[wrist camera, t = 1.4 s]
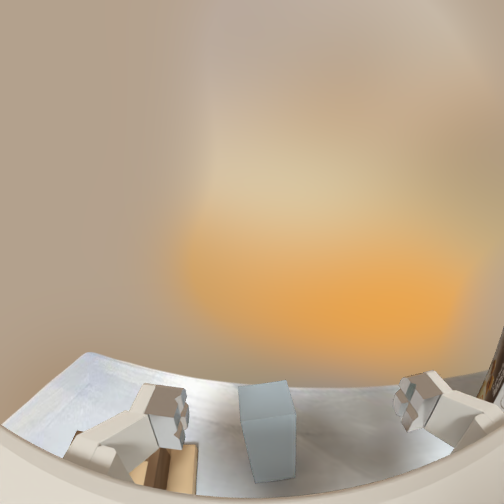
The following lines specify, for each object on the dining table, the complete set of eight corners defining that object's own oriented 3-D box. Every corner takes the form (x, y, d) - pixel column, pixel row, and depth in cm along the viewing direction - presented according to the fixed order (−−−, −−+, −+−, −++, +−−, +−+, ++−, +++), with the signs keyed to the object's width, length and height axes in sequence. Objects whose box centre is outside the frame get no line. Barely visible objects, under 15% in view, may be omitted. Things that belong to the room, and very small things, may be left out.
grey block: (288, 449, 30) (286, 379, 26) (295, 477, 25) (296, 413, 21) (251, 454, 29) (238, 386, 26) (255, 483, 25) (240, 421, 21)
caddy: (197, 450, 30) (188, 428, 29) (193, 558, 13) (178, 550, 12) (81, 439, 29) (65, 417, 28) (49, 520, 12) (24, 502, 11)
